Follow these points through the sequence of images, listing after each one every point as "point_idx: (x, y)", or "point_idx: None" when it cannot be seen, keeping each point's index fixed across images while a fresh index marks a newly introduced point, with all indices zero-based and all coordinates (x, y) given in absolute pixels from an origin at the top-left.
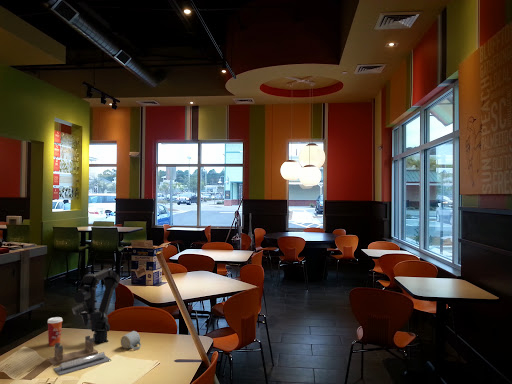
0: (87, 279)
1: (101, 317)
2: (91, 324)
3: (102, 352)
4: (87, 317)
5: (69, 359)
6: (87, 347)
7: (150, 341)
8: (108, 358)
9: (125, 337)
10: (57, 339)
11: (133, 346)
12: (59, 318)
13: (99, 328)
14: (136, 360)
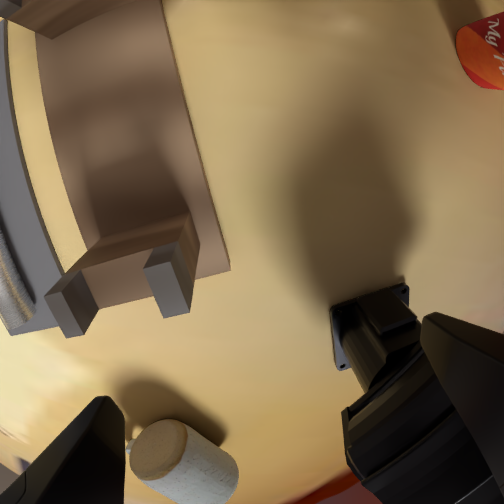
0: None
1: (414, 502)
2: (30, 472)
3: (8, 322)
4: (502, 447)
5: (43, 87)
6: (128, 237)
7: None
8: (24, 329)
9: (142, 474)
10: (484, 56)
11: (127, 450)
12: None
13: (369, 407)
14: (17, 405)
